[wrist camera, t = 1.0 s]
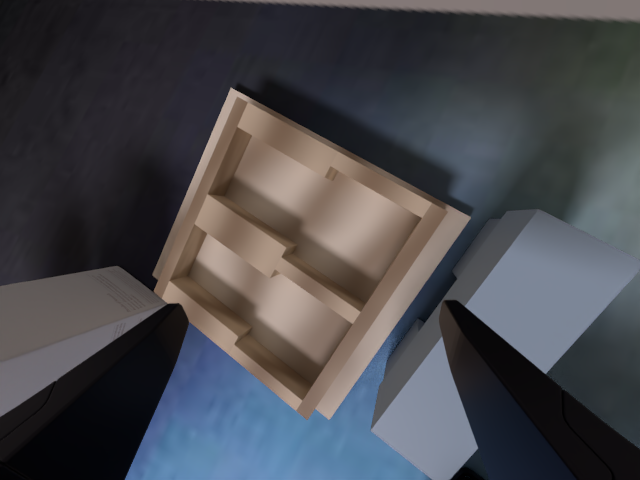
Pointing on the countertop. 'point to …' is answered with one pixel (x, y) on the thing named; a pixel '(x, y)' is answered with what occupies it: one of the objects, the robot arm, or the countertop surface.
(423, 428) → the grey rectangular block
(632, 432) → the countertop surface
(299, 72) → the countertop surface
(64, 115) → the countertop surface
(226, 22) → the countertop surface
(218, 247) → the divided wooden tray
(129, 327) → the supplement box
